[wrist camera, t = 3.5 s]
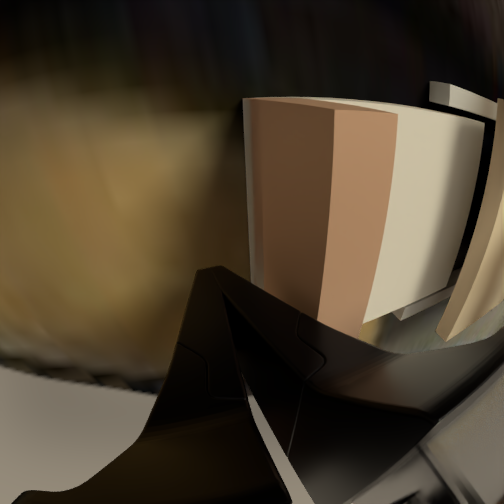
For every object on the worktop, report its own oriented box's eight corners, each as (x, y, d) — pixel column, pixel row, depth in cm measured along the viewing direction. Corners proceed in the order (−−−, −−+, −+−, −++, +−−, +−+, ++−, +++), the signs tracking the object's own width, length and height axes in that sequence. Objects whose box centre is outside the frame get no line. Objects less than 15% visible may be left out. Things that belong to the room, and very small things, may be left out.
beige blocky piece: (462, 116, 12) (541, 145, 7) (430, 274, 17) (483, 320, 13) (242, 98, 8) (334, 109, 4) (253, 334, 14) (298, 422, 10)
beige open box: (511, 113, 13) (556, 130, 10) (475, 269, 20) (508, 295, 16) (429, 81, 10) (503, 96, 7) (388, 308, 17) (429, 351, 13)
